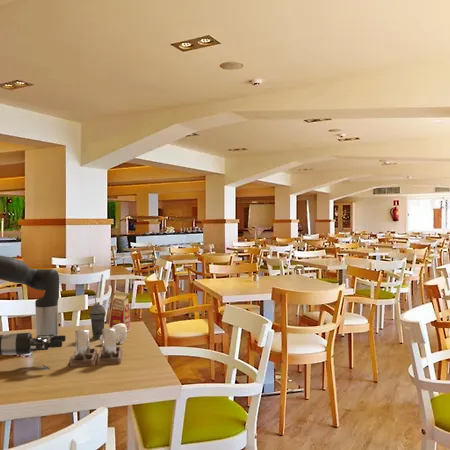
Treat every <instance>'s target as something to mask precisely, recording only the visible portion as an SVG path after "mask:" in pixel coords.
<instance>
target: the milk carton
mask: <svg viewBox="0 0 450 450" xmlns="http://www.w3.org/2000/svg"><path fill="white" fill-rule="evenodd" d="M114 291H115V293H114V295H113V299H112V304H111V307H110V308H111V309H110V314H109V315H110V316H109V321H108V323H109V324H108V328H112V327H114V326H115V325H116V324H120V323H123V324H125V326H126V327H127V333H129V332H130V331H131V312H130V303H129V295H130V294H131V293H129V292H122V291H119V290H114Z"/></svg>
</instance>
